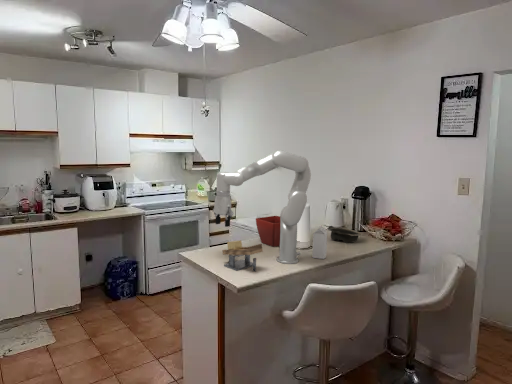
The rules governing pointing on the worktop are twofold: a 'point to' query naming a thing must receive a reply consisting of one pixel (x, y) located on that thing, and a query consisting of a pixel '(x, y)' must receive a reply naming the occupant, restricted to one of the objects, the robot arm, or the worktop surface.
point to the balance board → (245, 250)
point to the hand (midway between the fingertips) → (222, 224)
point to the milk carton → (319, 243)
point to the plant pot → (269, 230)
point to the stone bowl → (344, 234)
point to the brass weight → (234, 245)
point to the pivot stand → (240, 263)
